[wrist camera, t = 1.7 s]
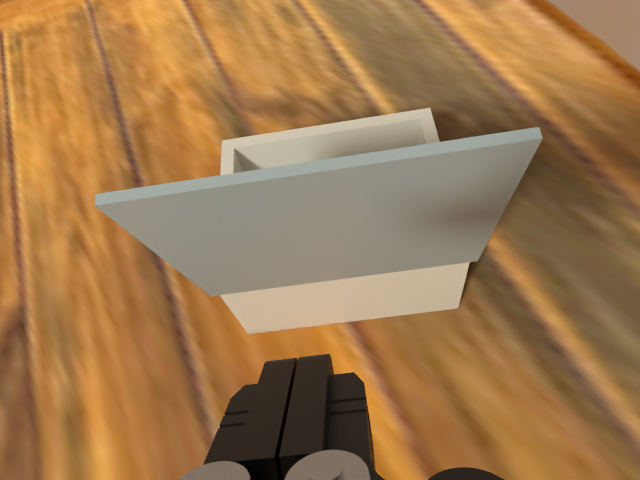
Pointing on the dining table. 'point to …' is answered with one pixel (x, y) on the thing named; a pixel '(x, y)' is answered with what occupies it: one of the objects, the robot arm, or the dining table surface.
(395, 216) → the lid
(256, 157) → the storage box
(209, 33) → the dining table surface
